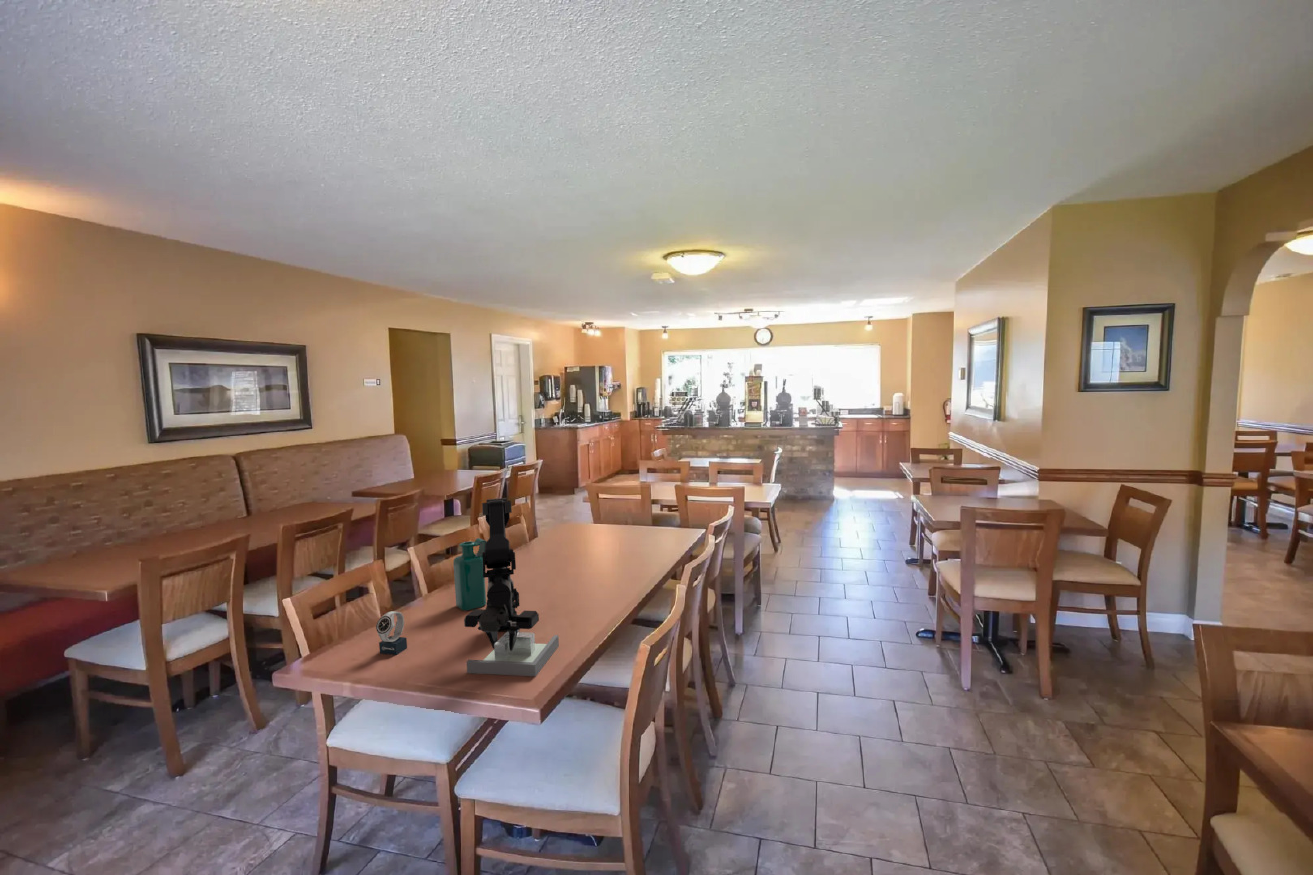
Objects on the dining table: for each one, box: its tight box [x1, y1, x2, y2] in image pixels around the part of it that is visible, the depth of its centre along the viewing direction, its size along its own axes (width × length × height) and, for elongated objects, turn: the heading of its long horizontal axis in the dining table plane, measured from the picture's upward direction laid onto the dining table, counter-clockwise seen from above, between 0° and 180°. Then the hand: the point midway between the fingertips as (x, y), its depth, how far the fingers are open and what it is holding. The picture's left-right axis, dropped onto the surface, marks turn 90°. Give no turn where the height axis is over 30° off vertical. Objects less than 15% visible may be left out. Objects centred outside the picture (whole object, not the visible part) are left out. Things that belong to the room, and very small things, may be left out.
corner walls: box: [465, 634, 560, 677], centre depth 151 cm, size 18×17×3 cm
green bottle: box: [453, 537, 487, 612], centre depth 192 cm, size 10×8×22 cm
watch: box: [375, 610, 408, 656], centre depth 159 cm, size 6×8×11 cm
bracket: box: [493, 631, 536, 661], centre depth 151 cm, size 8×8×5 cm
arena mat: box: [483, 643, 548, 662], centre depth 152 cm, size 16×16×1 cm
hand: (503, 649), depth 150 cm, fingers open, 4 cm apart
